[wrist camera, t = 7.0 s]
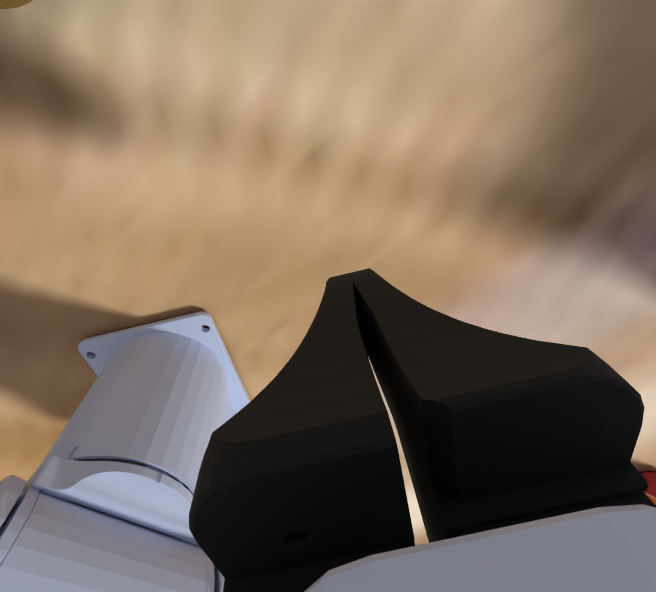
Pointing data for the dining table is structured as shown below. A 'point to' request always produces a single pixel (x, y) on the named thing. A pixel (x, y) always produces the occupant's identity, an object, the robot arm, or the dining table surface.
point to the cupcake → (12, 3)
